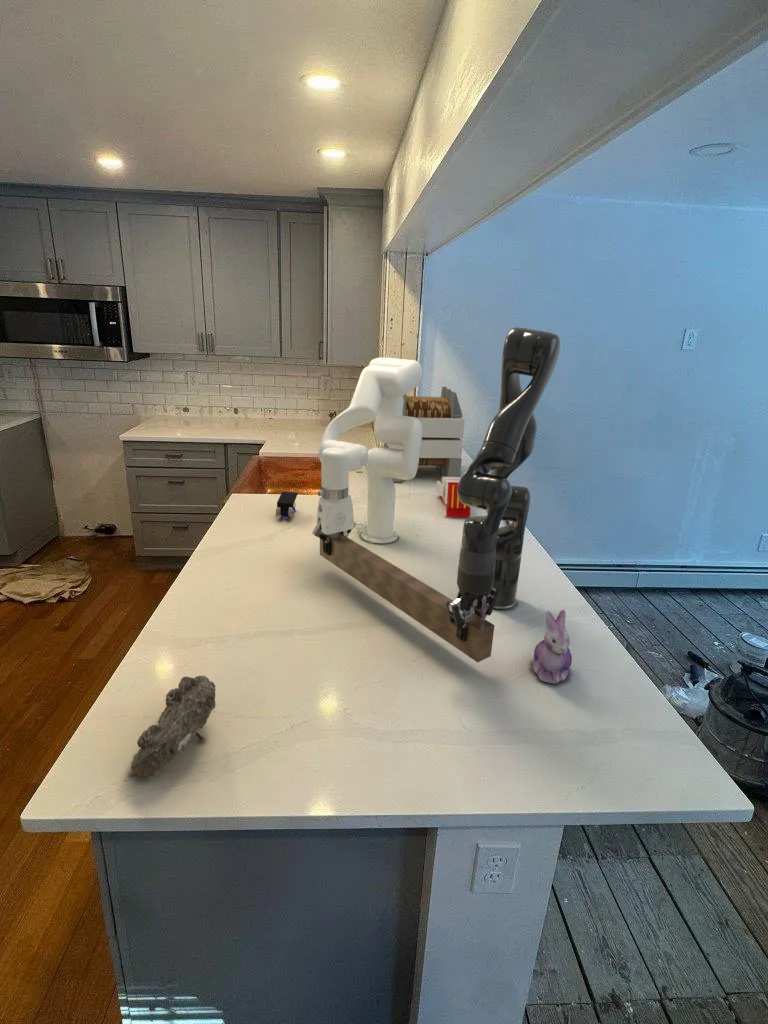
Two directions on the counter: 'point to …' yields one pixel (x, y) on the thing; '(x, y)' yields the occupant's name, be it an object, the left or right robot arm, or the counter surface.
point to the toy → (452, 497)
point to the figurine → (553, 651)
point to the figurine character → (286, 505)
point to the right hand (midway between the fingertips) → (469, 636)
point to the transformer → (437, 431)
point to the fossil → (175, 725)
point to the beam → (409, 595)
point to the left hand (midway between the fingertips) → (334, 551)
